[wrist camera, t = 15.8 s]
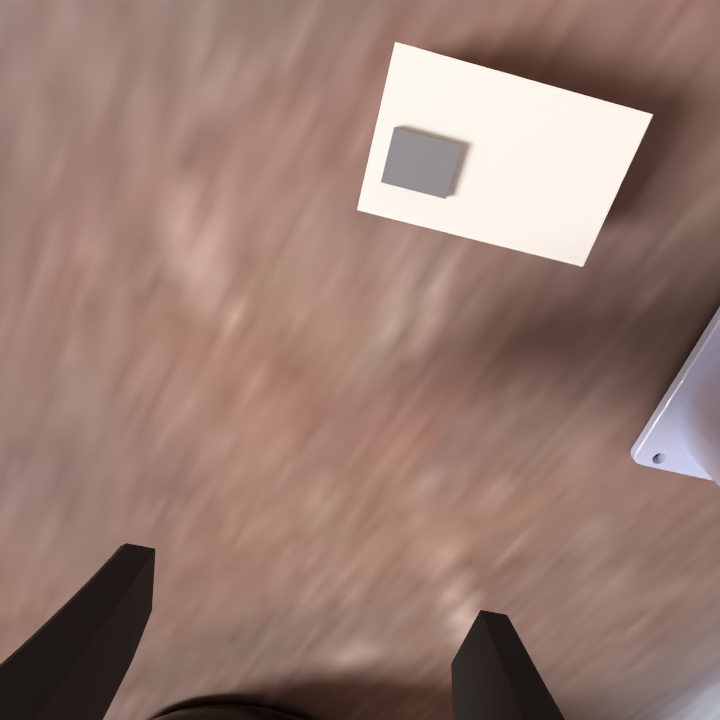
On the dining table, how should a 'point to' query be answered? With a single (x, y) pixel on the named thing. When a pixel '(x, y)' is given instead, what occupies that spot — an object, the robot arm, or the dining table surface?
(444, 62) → the socket block
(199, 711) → the amphora vase
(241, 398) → the dining table surface
